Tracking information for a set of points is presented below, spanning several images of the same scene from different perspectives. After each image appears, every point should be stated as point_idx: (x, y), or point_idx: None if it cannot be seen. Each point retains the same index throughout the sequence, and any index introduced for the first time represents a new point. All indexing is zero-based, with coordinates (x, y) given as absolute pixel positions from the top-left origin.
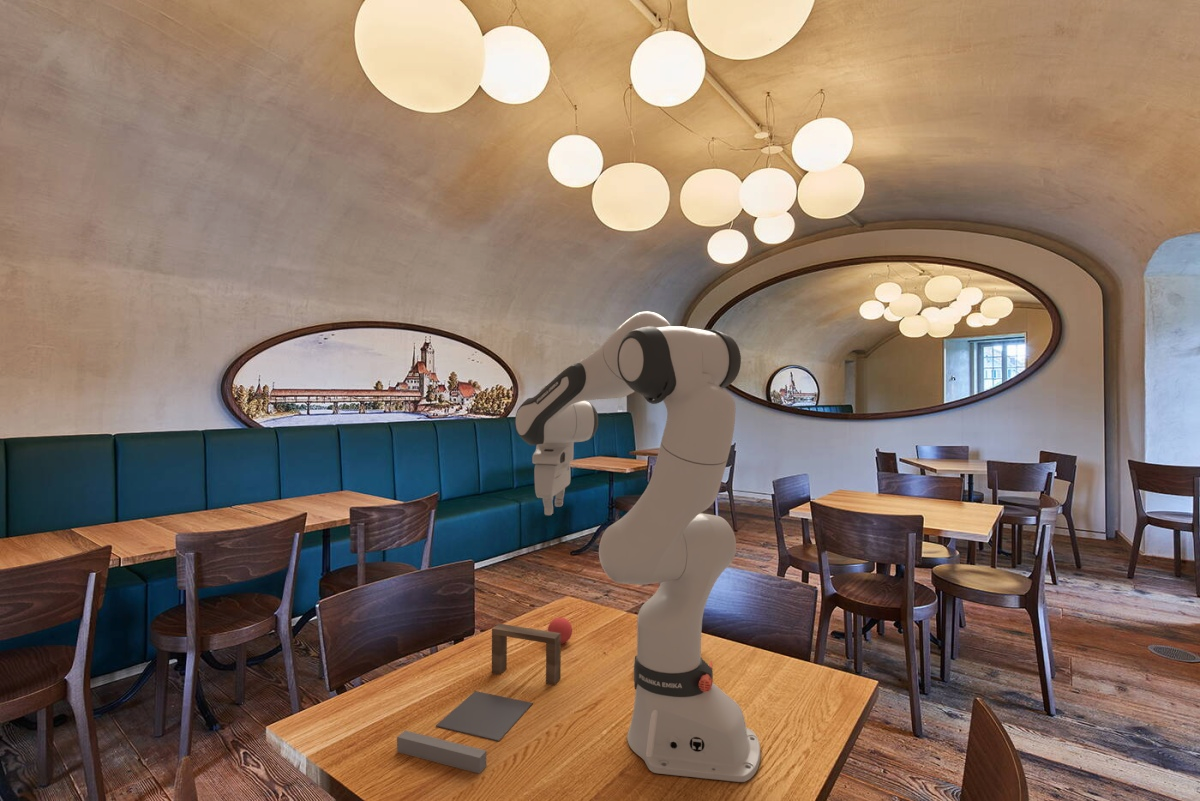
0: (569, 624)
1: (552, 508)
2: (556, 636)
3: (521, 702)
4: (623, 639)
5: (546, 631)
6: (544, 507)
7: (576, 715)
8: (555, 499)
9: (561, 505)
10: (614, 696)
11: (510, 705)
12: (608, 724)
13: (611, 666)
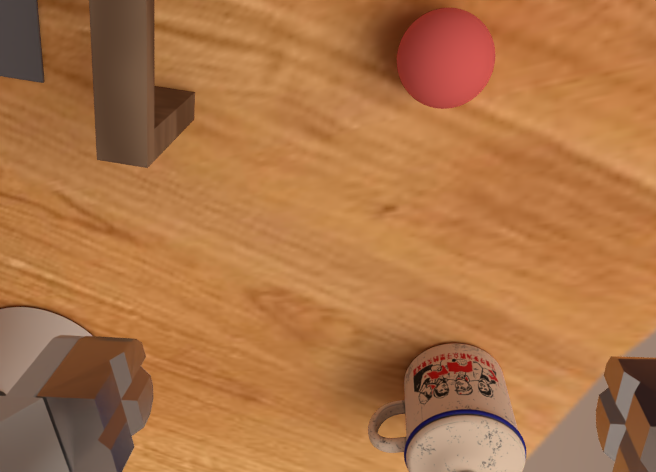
0: (442, 105)
1: (74, 462)
2: (115, 160)
3: (30, 51)
4: (495, 248)
5: (143, 113)
6: (8, 393)
7: (46, 198)
8: (651, 437)
9: (604, 437)
10: (157, 264)
11: (4, 25)
12: (44, 267)
13: (306, 238)
